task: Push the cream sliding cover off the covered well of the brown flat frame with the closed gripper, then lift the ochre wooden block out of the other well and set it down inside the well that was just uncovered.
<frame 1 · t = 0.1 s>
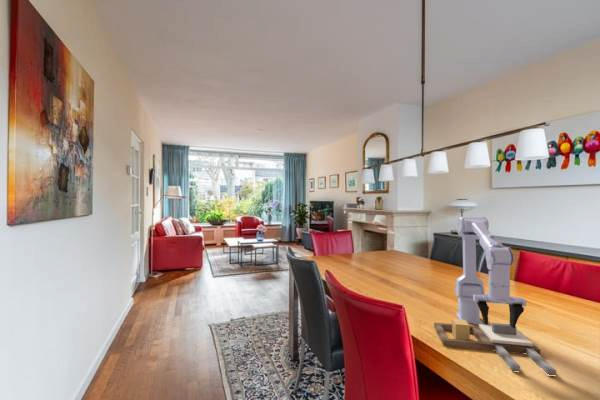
hand: (498, 325, 94), 10 cm above the table, tool pointing down, fingers open, 7 cm apart
ochre block: (460, 338, 106), resting in brown flat frame
brown flat frame: (482, 340, 104), on the table
slide cover: (504, 330, 102), point 4 cm above the table, slide at 0.0 cm
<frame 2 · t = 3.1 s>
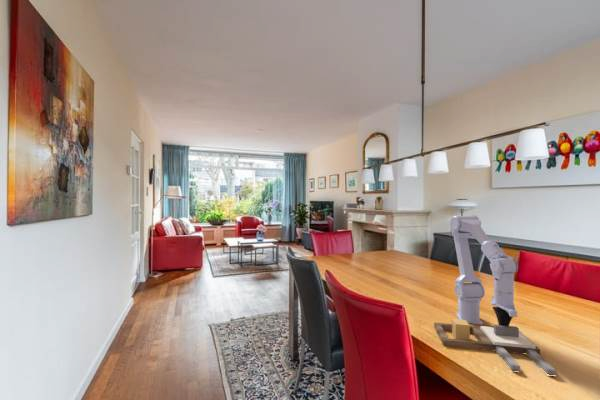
hand: (503, 328, 103), 5 cm above the table, tool pointing down, fingers closed
slide cover: (506, 332, 101), point 4 cm above the table, slide at 1.6 cm, touching gripper
everything else where it was.
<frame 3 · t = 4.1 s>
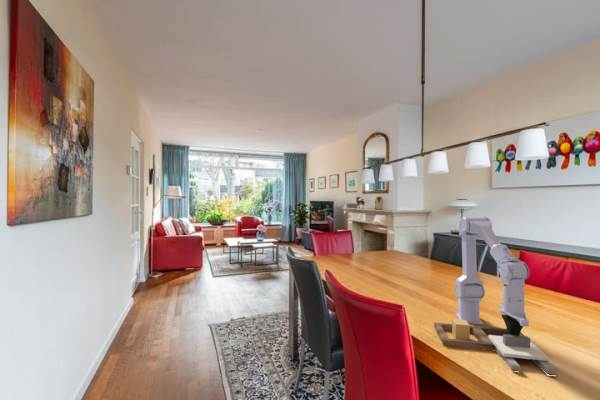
hand: (513, 338, 96), 5 cm above the table, tool pointing down, fingers closed
slide cover: (516, 342, 94), point 4 cm above the table, slide at 8.7 cm, touching gripper
everything else where it was.
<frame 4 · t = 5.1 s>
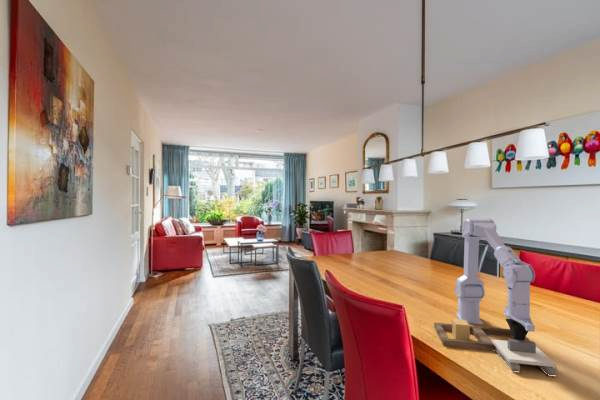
hand: (518, 343, 92), 5 cm above the table, tool pointing down, fingers closed
slide cover: (521, 347, 91), point 4 cm above the table, slide at 11.9 cm, touching gripper
everything else where it was.
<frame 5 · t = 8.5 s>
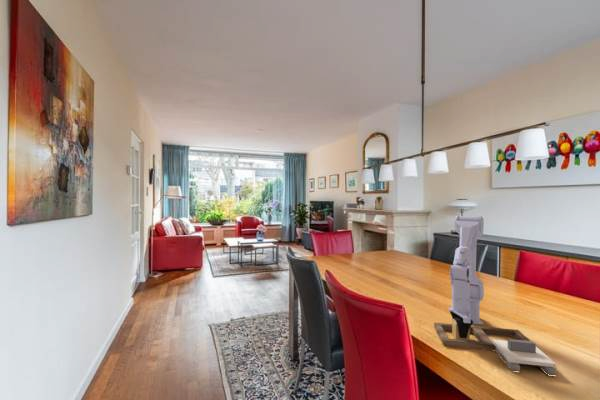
hand: (460, 334, 105), 1 cm above the table, tool pointing down, fingers closed on ochre block, 4 cm apart
ochre block: (460, 338, 106), resting in brown flat frame, touching gripper
slide cover: (521, 347, 91), point 4 cm above the table, slide at 11.9 cm
when the fingers open (3 cm above the table, at t = 12.4 s): ochre block drops 1 cm, resting in brown flat frame.
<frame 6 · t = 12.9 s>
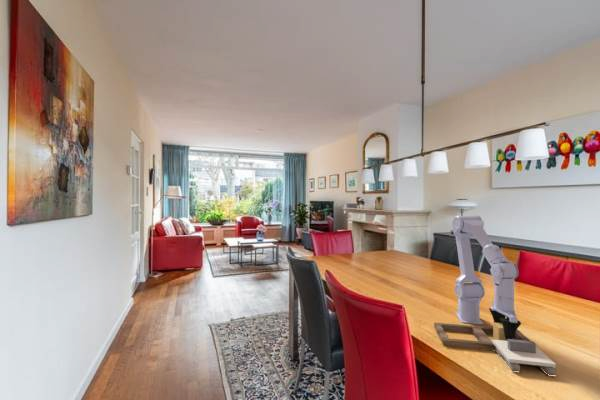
hand: (504, 334, 102), 3 cm above the table, tool pointing down, fingers open, 7 cm apart
ochre block: (502, 342, 102), resting in brown flat frame
everything else where it was.
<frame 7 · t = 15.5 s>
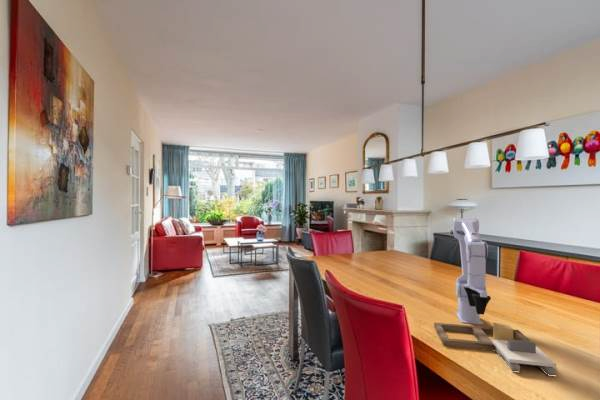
hand: (476, 309, 108), 9 cm above the table, tool pointing down, fingers open, 7 cm apart
nothing on the table moved.
at the end: ochre block 0.3 cm from the target spot on the brown flat frame, point 0.0 cm above the brown flat frame's base; ochre block tilted 0°; slide cover slide at 11.9 cm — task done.
